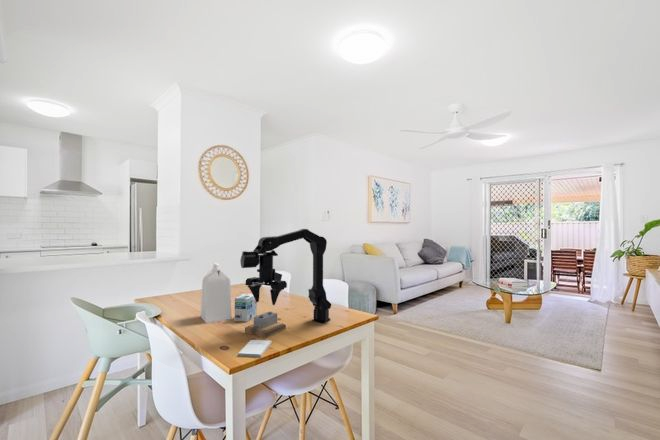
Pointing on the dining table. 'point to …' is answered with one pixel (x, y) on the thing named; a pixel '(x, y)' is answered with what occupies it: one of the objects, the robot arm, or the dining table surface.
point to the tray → (265, 330)
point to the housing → (265, 320)
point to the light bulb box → (245, 307)
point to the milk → (216, 296)
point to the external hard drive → (255, 348)
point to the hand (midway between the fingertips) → (265, 303)
